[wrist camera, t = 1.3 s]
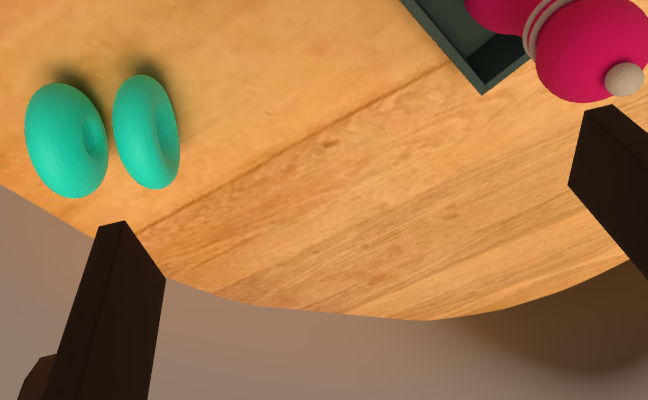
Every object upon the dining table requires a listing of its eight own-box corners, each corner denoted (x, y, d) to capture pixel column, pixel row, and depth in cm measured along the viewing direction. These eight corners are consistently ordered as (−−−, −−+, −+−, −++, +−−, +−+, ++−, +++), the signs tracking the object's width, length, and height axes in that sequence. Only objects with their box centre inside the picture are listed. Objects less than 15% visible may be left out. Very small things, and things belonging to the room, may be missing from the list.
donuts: (43, 63, 40) (-2, 130, 33) (158, 52, 40) (139, 116, 33) (89, 152, 47) (61, 223, 40) (187, 142, 47) (176, 210, 40)
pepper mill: (523, -108, 34) (715, -11, 20) (539, -22, 39) (704, 105, 25) (435, -54, 36) (553, 68, 22) (460, 22, 41) (572, 163, 27)
